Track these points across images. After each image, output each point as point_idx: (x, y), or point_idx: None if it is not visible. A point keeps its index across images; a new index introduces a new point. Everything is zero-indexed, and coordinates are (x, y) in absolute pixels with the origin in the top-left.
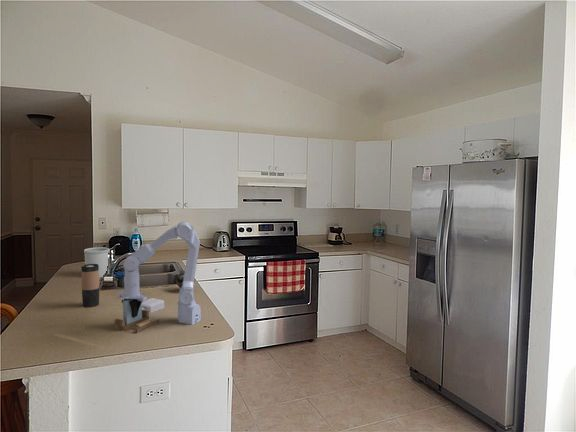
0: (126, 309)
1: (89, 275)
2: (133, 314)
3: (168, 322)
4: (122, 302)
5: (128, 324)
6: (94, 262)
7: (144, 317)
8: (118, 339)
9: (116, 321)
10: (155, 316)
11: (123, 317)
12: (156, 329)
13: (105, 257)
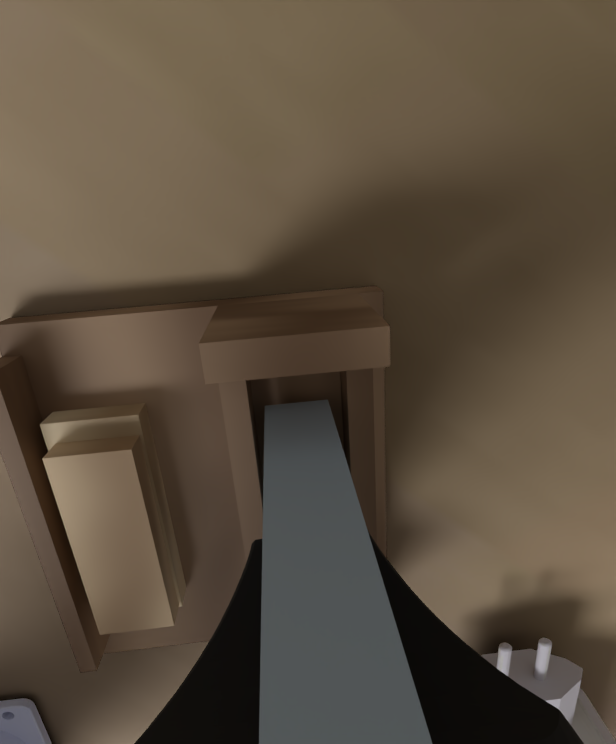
0: (265, 564)
1: None
2: (244, 570)
3: (104, 689)
4: (531, 706)
5: (235, 416)
6: None
7: None
8: (74, 132)
9: (345, 321)
10: None
11: (336, 447)
12: (23, 548)
13: None
